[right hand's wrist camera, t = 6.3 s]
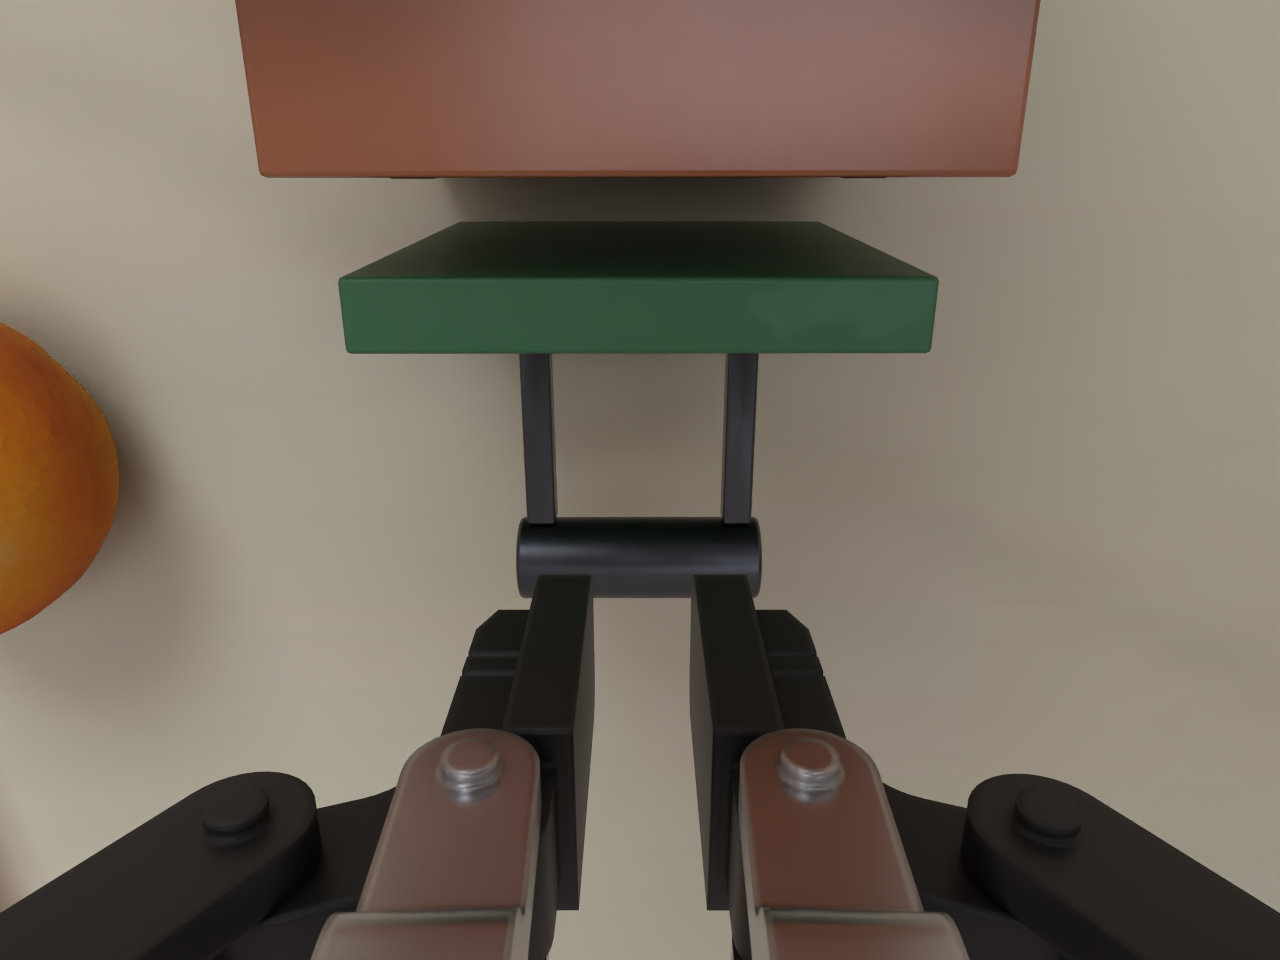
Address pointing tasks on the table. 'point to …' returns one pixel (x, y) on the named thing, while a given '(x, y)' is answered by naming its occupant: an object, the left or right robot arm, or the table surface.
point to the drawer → (638, 351)
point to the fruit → (48, 479)
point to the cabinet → (637, 87)
